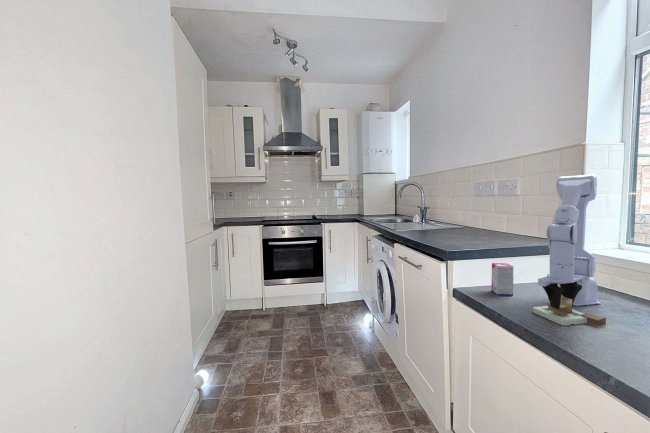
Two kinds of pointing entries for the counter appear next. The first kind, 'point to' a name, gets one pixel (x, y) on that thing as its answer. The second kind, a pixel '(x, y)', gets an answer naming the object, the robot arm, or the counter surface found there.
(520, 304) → the counter surface
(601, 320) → the walnut brick
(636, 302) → the counter surface
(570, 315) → the base plate
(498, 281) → the supplement box
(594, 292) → the robot arm
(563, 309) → the tan cube
